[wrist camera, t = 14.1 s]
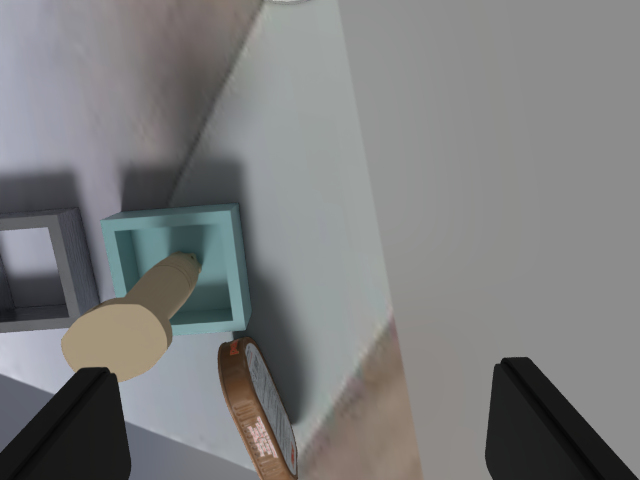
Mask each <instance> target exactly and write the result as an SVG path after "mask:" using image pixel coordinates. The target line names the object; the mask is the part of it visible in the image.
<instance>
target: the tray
mask: <svg viewBox="0 0 640 480" xmlns="http://www.w3.org/2000/svg"><path fill="white" fill-rule="evenodd" d="M100 222H101V227H102V232H103V237H104V242H105V247H106V251H107V256H108V261H109V266H110V271H111V275H112V280H113V285H114V290H115V295H116V298H120V297H125V295H126V294H127V293H128V292H129V291H130V290H131V289H132V288H133V287H134V285H135V284H136V283H137V282H138V281H139V280H140V279H141V277H142V276H143V275H144V274H145V273H146V272H147V271H148V270H149V269H151V268H152V267H153V266H154V265H156V264H157V263H158V262H160V261H161V260H163V259H165V258H166V257H169V255H171V254H172V253H174V252H177V251H181V252H182V253H194V254H196V258H197V261H198V262H199V263H200V264H201V265H202V271H201V273H200V274H199V276H198V280H197V283H196V285H195V288H194V289H193V291H192V293H191V295H190V296H189V298H188V299H187V300H186V302H185V303H184V304H183V305H182V306H181V307H180V309H179V310H178V311H177V312H176V313H175V314H174V315H173V316H172V317H171V318H170V319H169V321H170V324H171V327H172V334H173V335H172V336H174V335H188V334H201V333H215V332H228V331H241V330H246V328H247V325H248V322H249V319H250V316H251V313H252V308H251V300H250V292H249V284H248V276H247V268H246V260H245V252H244V244H243V236H242V228H241V220H240V212H239V204H238V203H228V204H215V205H202V206H189V207H176V208H163V209H150V210H137V211H124V212H119V213H117V214H114V215H112V216H110V217H107V218H105V219H102V220H100Z"/></svg>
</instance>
